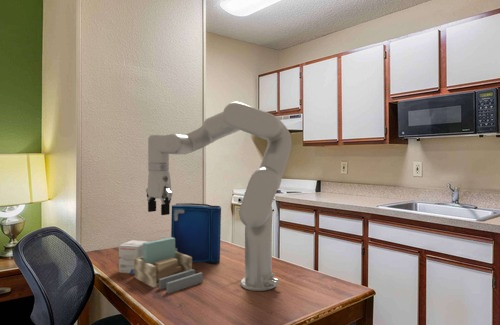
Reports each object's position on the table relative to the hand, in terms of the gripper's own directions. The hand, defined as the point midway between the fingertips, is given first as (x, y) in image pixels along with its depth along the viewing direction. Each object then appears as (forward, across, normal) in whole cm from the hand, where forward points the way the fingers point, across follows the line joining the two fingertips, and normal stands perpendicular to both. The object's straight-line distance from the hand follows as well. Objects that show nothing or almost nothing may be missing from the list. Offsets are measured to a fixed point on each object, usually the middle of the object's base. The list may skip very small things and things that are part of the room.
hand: (158, 213), depth 126 cm
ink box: (+25, +12, +4) cm, 28 cm away
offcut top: (+20, -6, 0) cm, 21 cm away
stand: (+24, -15, 0) cm, 29 cm away
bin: (+24, -3, 0) cm, 25 cm away
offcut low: (+23, -6, 0) cm, 24 cm away
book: (+25, +5, -21) cm, 33 cm away
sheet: (+23, 0, 0) cm, 23 cm away
